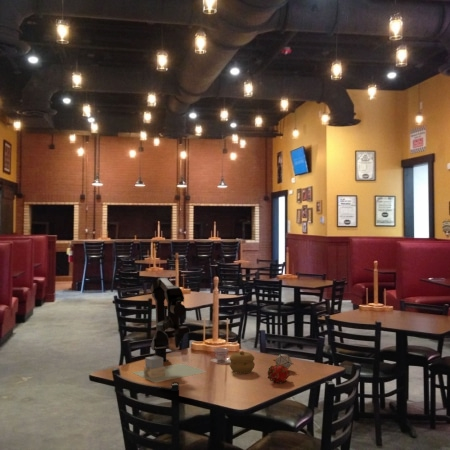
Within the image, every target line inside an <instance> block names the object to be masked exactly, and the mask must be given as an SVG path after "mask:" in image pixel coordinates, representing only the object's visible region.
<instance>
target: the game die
mask: <svg viewBox="0 0 450 450" xmlns="http://www.w3.org/2000/svg"><path fill="white" fill-rule="evenodd" d="M290 355H291V354H290V353H288V354H285V353H284V354H282V353H281V352H279V355H278V356H277V357H276V358H275V359H273V361H274V363H275V365H279V366H280V365H281V364H282V365H283V366H284V367H287V368H288V369H289V368H291V366H292V365H294V363H293V362H292V359H291V358H290Z"/></svg>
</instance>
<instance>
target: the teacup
mask: <svg viewBox="0 0 450 450" xmlns="http://www.w3.org/2000/svg"><path fill="white" fill-rule="evenodd" d="M229 351H230V349H229V348H228V347H218V348H214V349H213V352H214V355H215V358H211V359H210V360H209V361H210V362H213V363H217V364H220V365H226V364H227V365H228V364H230V363H231V361H230V357H229V358H227V355H228V353H229Z"/></svg>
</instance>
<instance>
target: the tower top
mask: <svg viewBox="0 0 450 450" xmlns="http://www.w3.org/2000/svg"><path fill="white" fill-rule="evenodd" d="M144 360H145V362H144V364H145V365H144V366H146V367H149V368H151V369H153V368H159V367H163V366H164V362H163V358H162V357H159V356H155V355H152V356H147V357H146V356H145V357H144Z"/></svg>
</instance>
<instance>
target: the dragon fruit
mask: <svg viewBox="0 0 450 450" xmlns="http://www.w3.org/2000/svg"><path fill="white" fill-rule="evenodd" d="M290 374H291V373H290V372H289V368H287V367H284V366H283V365H282V364H281V365H280V366H279V365H276V364H274V365H270V366H269V368H268V370H267V375H268V376H267V379H269V381H270V382H273V384H277V383H279V384H283V383H286V382H287V379H288V378H289V377H290Z"/></svg>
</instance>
